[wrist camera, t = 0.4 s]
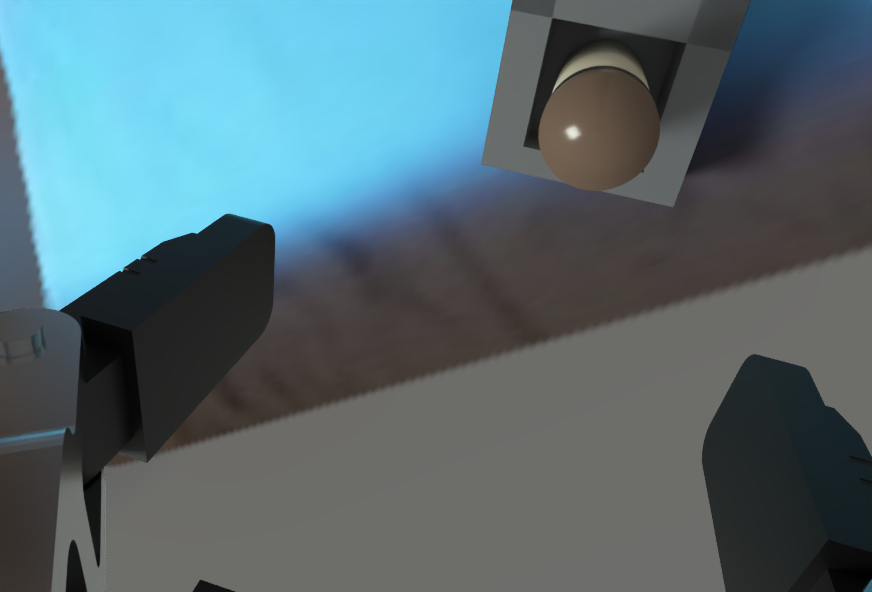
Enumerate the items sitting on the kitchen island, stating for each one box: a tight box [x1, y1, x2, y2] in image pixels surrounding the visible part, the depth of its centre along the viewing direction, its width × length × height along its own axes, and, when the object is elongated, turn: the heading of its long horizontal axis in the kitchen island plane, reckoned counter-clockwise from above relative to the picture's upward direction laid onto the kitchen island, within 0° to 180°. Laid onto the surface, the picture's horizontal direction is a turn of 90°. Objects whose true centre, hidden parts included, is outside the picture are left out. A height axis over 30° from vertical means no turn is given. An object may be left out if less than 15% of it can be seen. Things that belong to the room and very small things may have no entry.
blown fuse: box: [538, 40, 660, 191], centre depth 25 cm, size 4×4×9 cm
